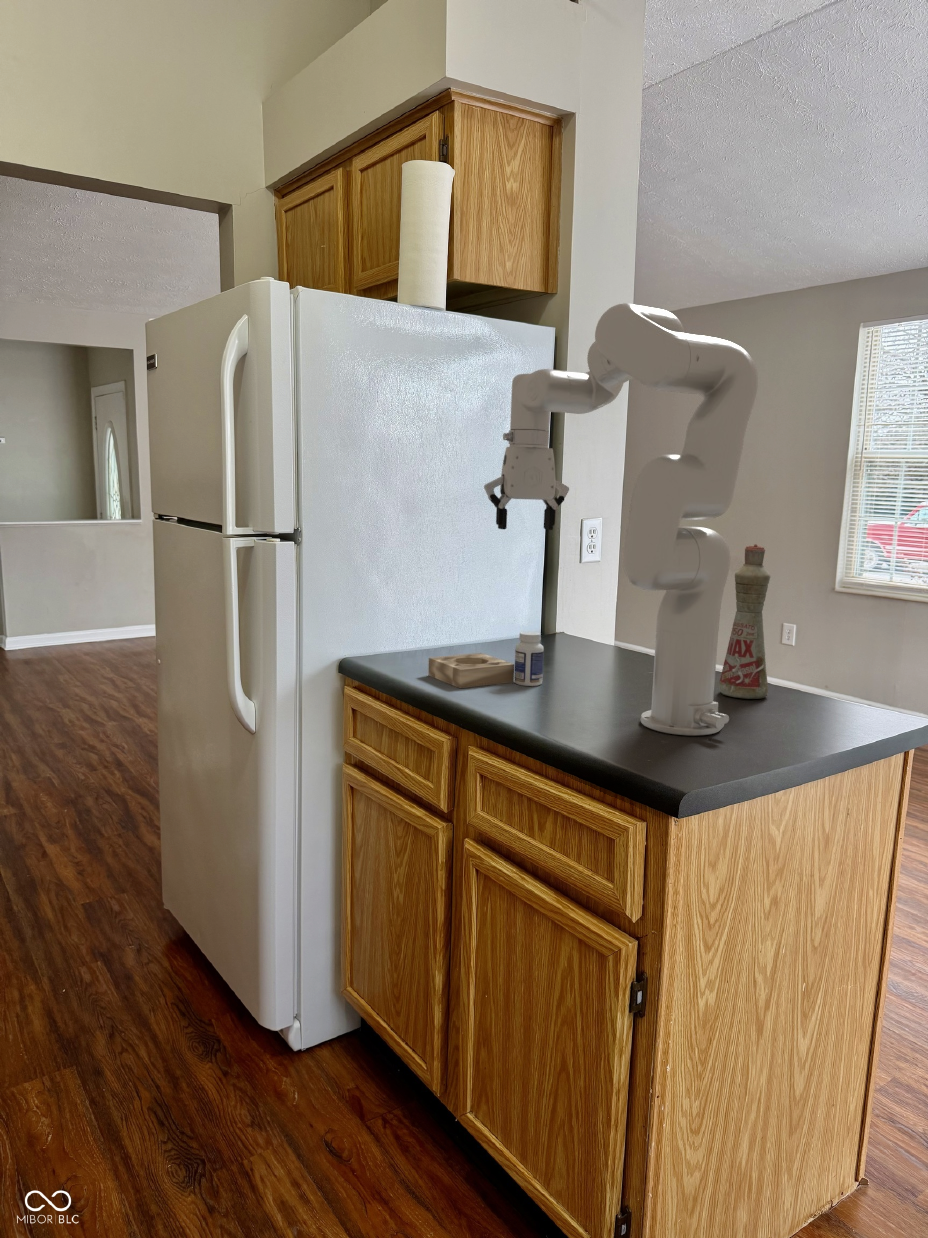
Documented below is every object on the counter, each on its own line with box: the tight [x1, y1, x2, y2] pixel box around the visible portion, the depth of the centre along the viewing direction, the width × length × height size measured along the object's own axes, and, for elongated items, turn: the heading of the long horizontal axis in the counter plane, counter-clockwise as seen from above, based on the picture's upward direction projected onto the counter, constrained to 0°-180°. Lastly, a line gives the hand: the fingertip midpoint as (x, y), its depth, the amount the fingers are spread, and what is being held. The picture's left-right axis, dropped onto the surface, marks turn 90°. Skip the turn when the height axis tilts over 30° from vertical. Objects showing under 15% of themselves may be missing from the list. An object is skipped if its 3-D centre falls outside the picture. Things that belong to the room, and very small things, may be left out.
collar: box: [427, 652, 515, 689], centre depth 170 cm, size 12×12×4 cm
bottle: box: [718, 543, 771, 700], centre depth 161 cm, size 9×9×28 cm
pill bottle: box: [514, 631, 545, 687], centre depth 167 cm, size 5×5×10 cm
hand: (525, 529), depth 173 cm, fingers open, 9 cm apart
